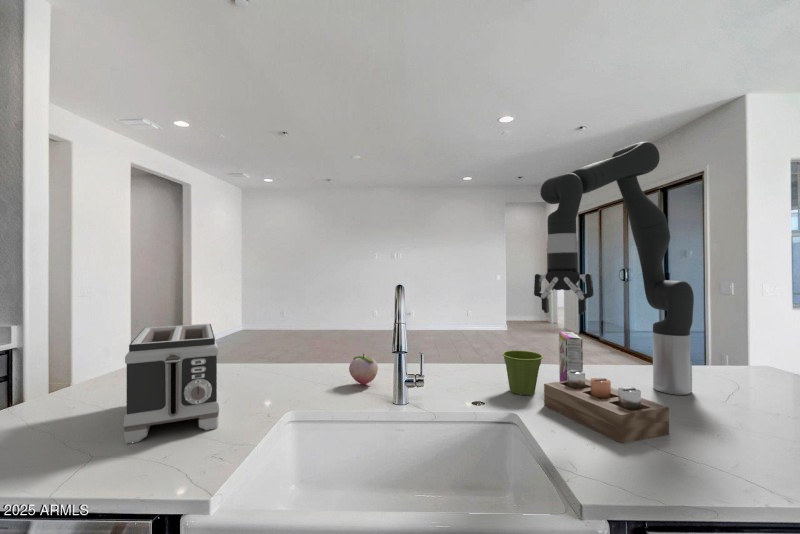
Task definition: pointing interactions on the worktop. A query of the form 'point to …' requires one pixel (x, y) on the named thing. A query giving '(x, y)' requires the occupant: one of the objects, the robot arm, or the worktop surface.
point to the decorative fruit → (363, 369)
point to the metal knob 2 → (629, 398)
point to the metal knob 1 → (576, 379)
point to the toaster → (171, 378)
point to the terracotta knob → (600, 387)
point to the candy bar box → (569, 353)
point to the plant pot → (522, 370)
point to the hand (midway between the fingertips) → (563, 313)
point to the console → (607, 412)
